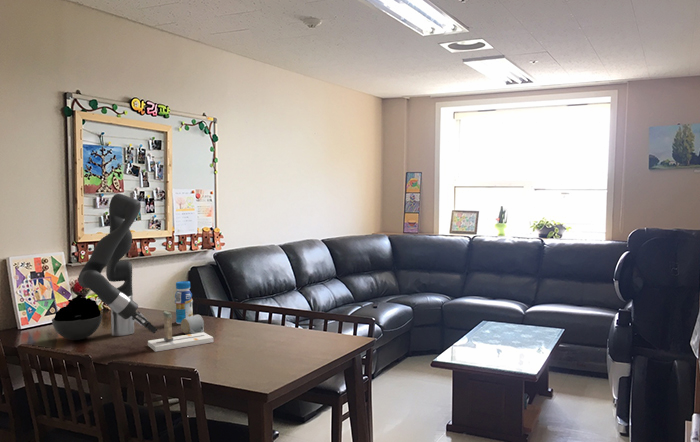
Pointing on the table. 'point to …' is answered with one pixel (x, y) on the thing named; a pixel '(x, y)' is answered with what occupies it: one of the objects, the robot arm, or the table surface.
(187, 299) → the beverage bottle
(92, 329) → the bowl of black rocks
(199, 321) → the ceramic mug
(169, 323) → the fader tab
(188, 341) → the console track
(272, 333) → the table surface
